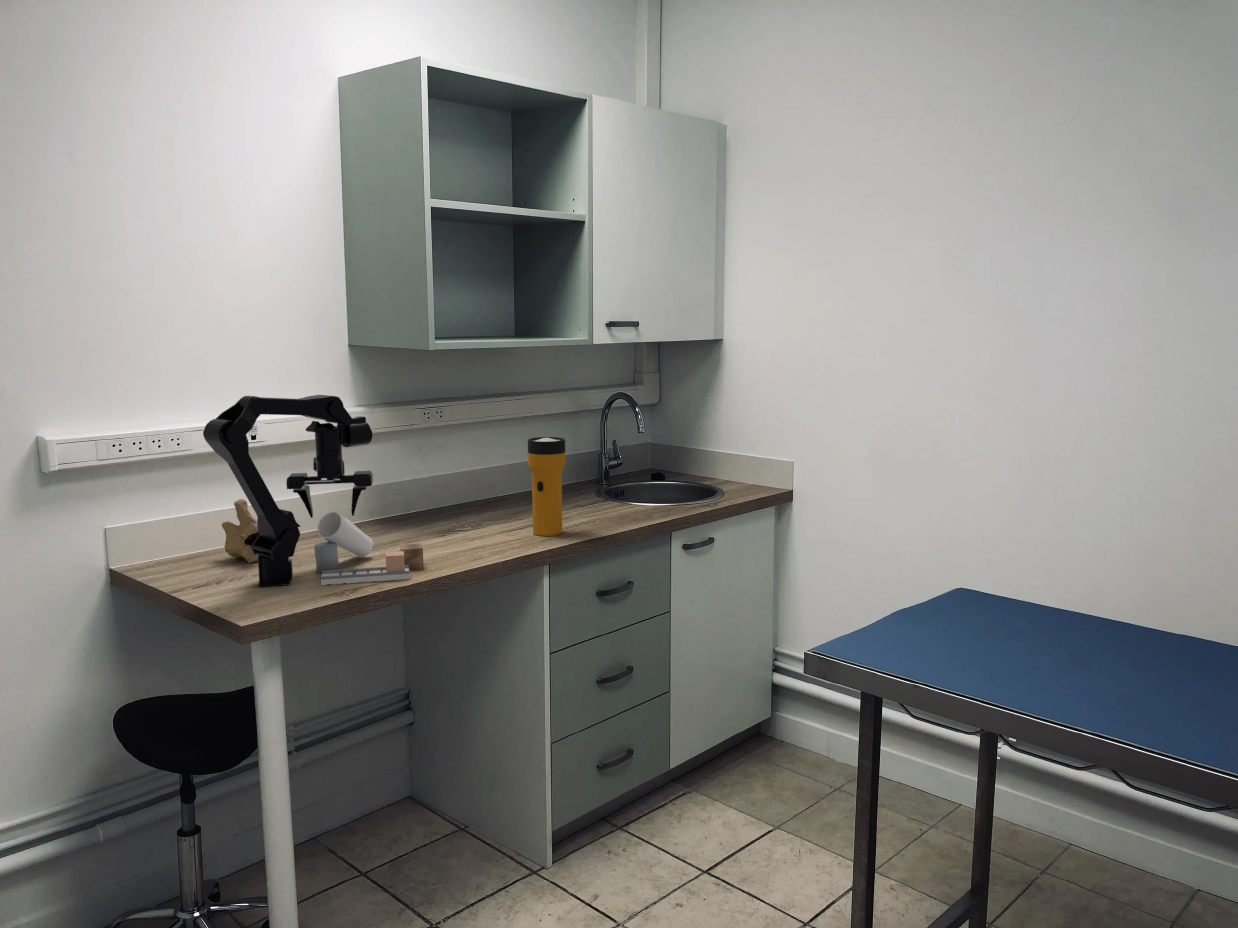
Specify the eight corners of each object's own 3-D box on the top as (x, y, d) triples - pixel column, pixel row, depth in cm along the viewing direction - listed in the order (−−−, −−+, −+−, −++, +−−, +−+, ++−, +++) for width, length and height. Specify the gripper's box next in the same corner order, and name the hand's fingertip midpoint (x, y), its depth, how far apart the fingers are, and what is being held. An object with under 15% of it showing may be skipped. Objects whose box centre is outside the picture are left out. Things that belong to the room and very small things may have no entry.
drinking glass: (374, 559, 235) (339, 537, 223) (350, 561, 237) (314, 539, 225) (379, 533, 238) (344, 510, 226) (355, 535, 240) (319, 512, 228)
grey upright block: (316, 573, 223) (313, 548, 221) (317, 567, 227) (314, 542, 226) (338, 571, 224) (336, 546, 223) (339, 565, 229) (337, 540, 227)
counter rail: (321, 585, 213) (320, 577, 213) (322, 578, 219) (322, 570, 218) (409, 578, 218) (409, 571, 218) (408, 572, 223) (408, 564, 223)
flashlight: (571, 436, 261) (553, 441, 252) (573, 531, 265) (555, 538, 256) (539, 434, 265) (520, 439, 256) (541, 527, 269) (522, 535, 260)
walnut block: (401, 570, 225) (400, 549, 225) (400, 565, 230) (400, 544, 229) (423, 569, 227) (422, 548, 226) (422, 563, 231) (421, 543, 231)
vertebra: (252, 551, 243) (248, 492, 241) (280, 561, 234) (276, 500, 232) (218, 558, 237) (213, 497, 235) (245, 568, 228) (241, 505, 225)
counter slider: (386, 573, 217) (385, 556, 217) (386, 569, 221) (385, 552, 220) (404, 572, 218) (404, 555, 218) (404, 568, 222) (403, 551, 221)
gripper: (373, 443, 232) (376, 507, 235) (291, 446, 229) (295, 511, 232) (369, 450, 221) (372, 517, 224) (284, 453, 218) (288, 521, 221)
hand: (332, 516), depth 225 cm, fingers open, 9 cm apart
